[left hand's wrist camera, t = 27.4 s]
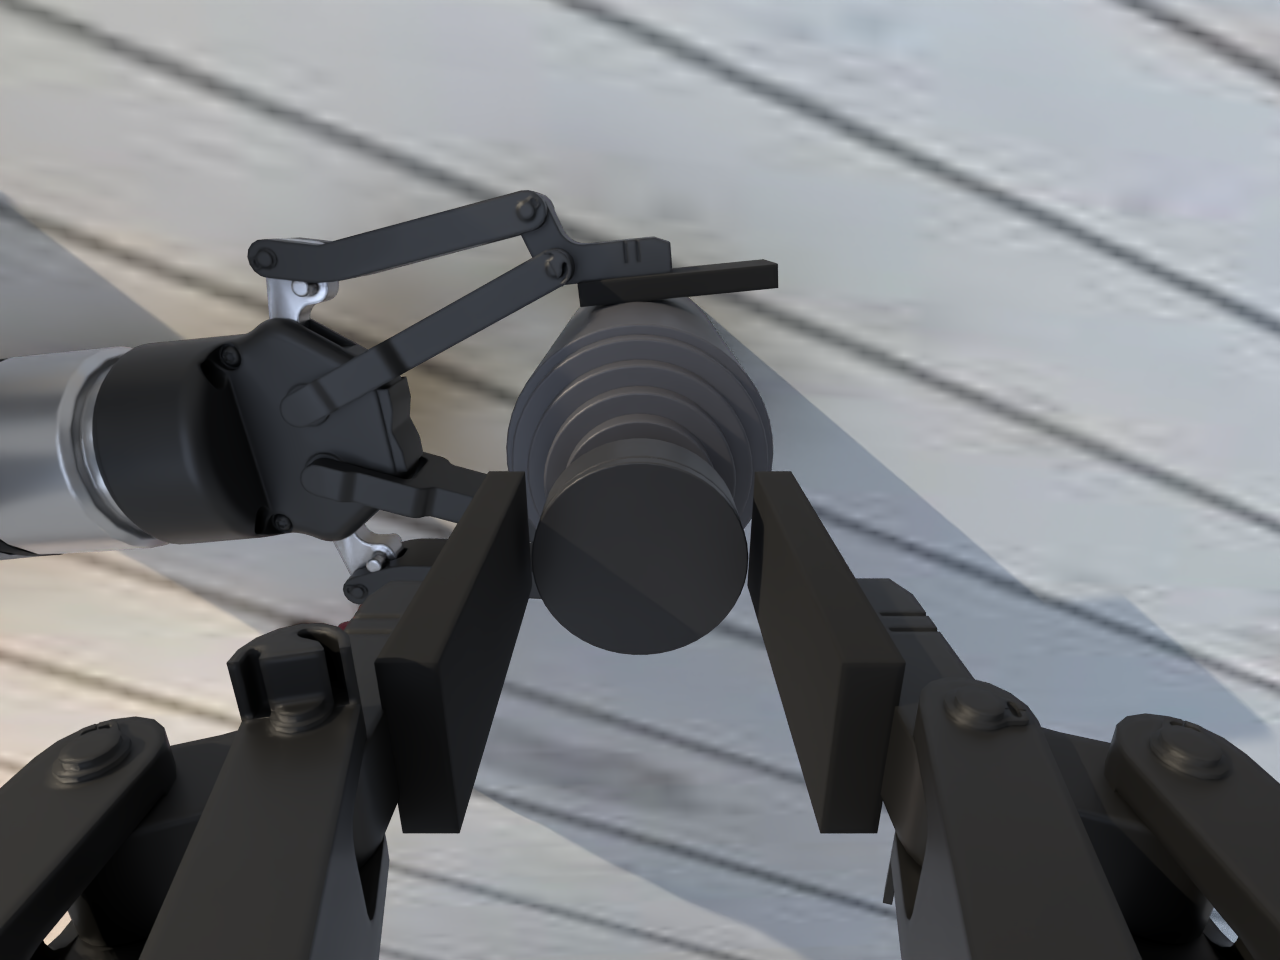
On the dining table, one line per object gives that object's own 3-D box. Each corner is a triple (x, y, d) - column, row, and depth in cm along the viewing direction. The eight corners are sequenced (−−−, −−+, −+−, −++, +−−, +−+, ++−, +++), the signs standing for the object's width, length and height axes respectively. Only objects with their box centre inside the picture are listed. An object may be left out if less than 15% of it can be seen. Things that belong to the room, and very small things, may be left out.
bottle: (538, 412, 32) (420, 634, 15) (588, 256, 29) (517, 305, 12) (685, 463, 33) (734, 728, 16) (746, 316, 30) (885, 441, 13)
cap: (631, 646, 16) (630, 690, 14) (501, 522, 14) (486, 555, 13) (777, 538, 15) (792, 572, 13) (649, 395, 13) (650, 416, 12)
